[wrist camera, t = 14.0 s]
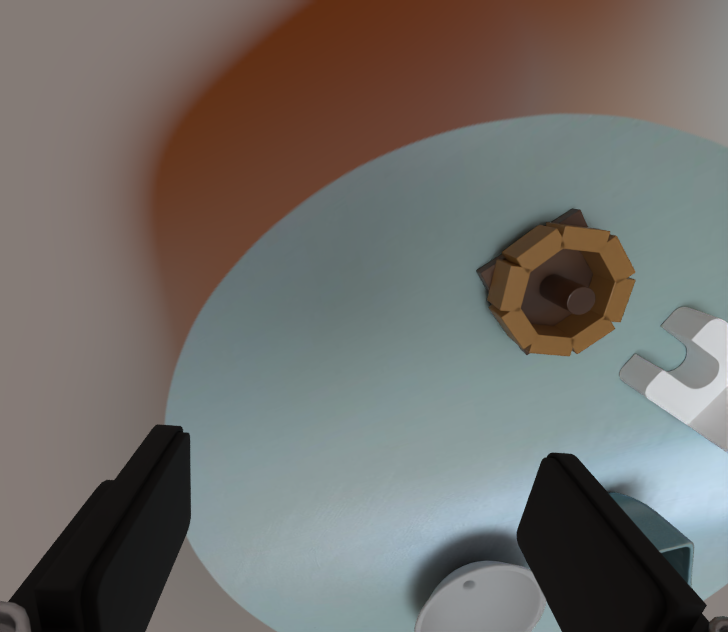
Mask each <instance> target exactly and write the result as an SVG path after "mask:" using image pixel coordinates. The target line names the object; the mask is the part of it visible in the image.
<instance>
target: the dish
mask: <svg viewBox="0 0 728 632" xmlns="http://www.w3.org/2000/svg"><path fill="white" fill-rule="evenodd" d="M545 605H546V599H545V597H544V595H543V593H542V591H541V589H540V587H539V585H538V583H537V581H536V579H535V577H534V575H533V573H532V571H531V570H530V569H528V568H526V567H523V566H520V565H516V564H507V563H503V562H498V561H479V562H473V563H470V564H467V565H464V566H462V567H460V568H458V569H456V570H455V571H453V572H452V573H450V574H449V575H448V576H447V577H445V578H444V579H443V580H442V581H441V582H440V584H439V585H438V586H437V587H436V588H435V590H434V591H433V593H432V594H431V596H430V598H429V599H428V601H427V602H426V603H425V605H424V606H423V608H422V609H421V611H420V613H419V615H418V618H417V621H416V624H415V632H531V631H532V630H533V629H534V627H535V626H536V625H537V623H538V622H539V620H540V618H541V616H542V614H543V612H544V609H545Z"/></svg>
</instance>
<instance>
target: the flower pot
mask: <svg viewBox="0 0 728 632" xmlns="http://www.w3.org/2000/svg"><path fill="white" fill-rule="evenodd" d="M609 494H610V496H611V497H612V498H613V499H614V500H615V501H616V502H617V504H618V505H619V506H620V507H621V508H622V509H623V510H624V512H625V513H626V514H627V515H628V516H629V517H630V518H631V520H632V521H633V522H634V523H635V524H636V525H637V526H638V528H639V529H640V530H641V531H642V532H643V533H644V534H645V535H646V537H647V538H648V539H649V540H650V541H651V542H652V543H653V545H654V546H655V547H656V548H657V549H658V550H659V551H660V553H661V554H662V555H663V556H664V557H665V558H666V559H667V561H668V562H669V563H670V564H671V565H672V566H673V567H674V569H675V570H676V571H677V572H678V573H679V574H680V575H681V577H682V578H683V579H684V580H685V581H686V582H687V583H688V584H689V586H690V587H692V586H691V585H692V567H693V557H694V544H693V542H691V541H690V540H689V539H688V538H687V537H686V536H684V535H683V534H682V533H681V532H680V531H679V530H677V529H676V528H675V527H674V526H673V525H671V524H670V523H669V522H668V521H667V520H665V519H664V518H663V517H662V516H661V515H659V514H658V513H657V512H656V511H654V510H653V509H652V508H650V507H649V506H647V505H646V504H644V503H642V502H640V501H638V500H636V499H634V498H631V497H629V496H626V495H623V494H619V493H615V492H612V493H609Z"/></svg>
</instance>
